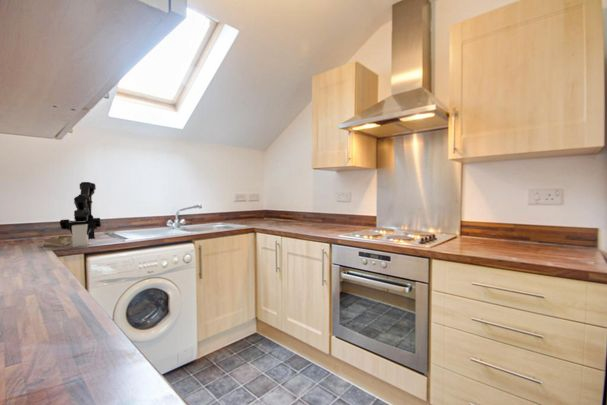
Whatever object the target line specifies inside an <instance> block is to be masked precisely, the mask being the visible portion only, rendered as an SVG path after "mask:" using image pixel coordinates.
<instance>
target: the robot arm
mask: <svg viewBox="0 0 607 405" xmlns="http://www.w3.org/2000/svg"><path fill="white" fill-rule="evenodd" d="M96 189H97V186H96V184H95V183H94V182H90V181H81V183H79V190H80V193H79V194H78V195H77V196H75V197H74V198H73V203H74V205H75V208H76V210H75V209H74V211H73V216H74V219H73V220H74V221H72V220H70V219H61V220H59V226H60V228H61V229H62V230H67V231H70V234H71V235H72V226H73V225H81V224H88V229H87V235H88V240H91V239H96V236H95V230H97V229H98V228H100V227H102V221H101V218H100V217H94V216H93V214H92V203H93V197H92V196H93V195H94V194H95V190H96Z"/></svg>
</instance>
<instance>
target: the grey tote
mask: <svg viewBox="0 0 607 405" xmlns="http://www.w3.org/2000/svg"><path fill="white" fill-rule="evenodd" d="M87 229H88V224H81V225H73V226H72V234H71V236H72V241H73V244H72V248H83V247H88V246H89V240H90V239H88V235H87Z"/></svg>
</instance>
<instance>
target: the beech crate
mask: <svg viewBox="0 0 607 405" xmlns="http://www.w3.org/2000/svg"><path fill="white" fill-rule="evenodd" d="M42 245H43V247H44V248H48V247H49V248H50V246H63V247H67V246H71V245H73V241H72V235H56V236H51V237H47V238H42ZM66 245H67V246H66Z"/></svg>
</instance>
